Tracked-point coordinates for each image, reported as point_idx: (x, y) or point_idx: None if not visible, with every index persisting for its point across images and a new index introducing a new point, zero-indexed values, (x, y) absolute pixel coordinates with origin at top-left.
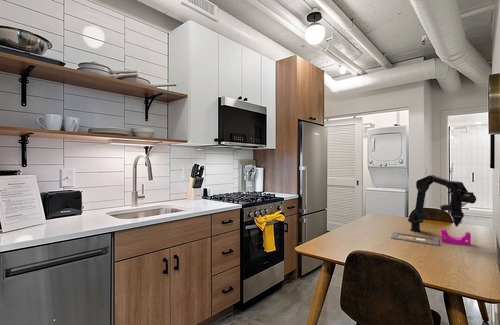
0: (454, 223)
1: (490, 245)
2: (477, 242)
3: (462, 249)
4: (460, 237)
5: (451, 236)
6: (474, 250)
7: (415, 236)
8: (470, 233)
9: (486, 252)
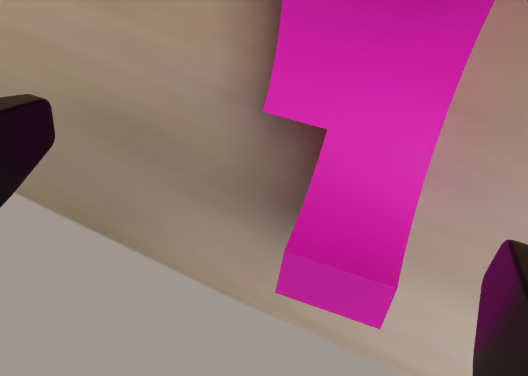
0: (502, 248)
1: (403, 370)
2: None
3: (66, 8)
4: (422, 153)
5: (469, 16)
6: (110, 129)
7: None
8: (297, 299)
9: (109, 206)
